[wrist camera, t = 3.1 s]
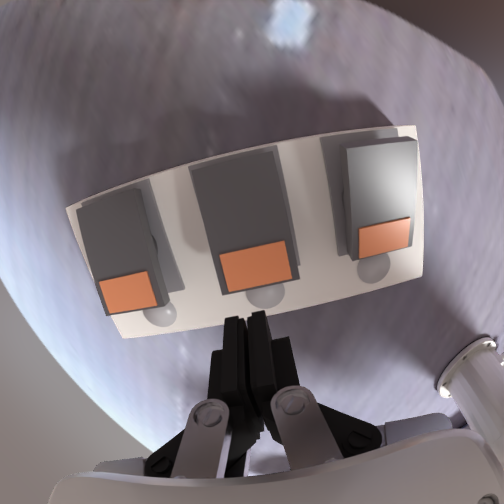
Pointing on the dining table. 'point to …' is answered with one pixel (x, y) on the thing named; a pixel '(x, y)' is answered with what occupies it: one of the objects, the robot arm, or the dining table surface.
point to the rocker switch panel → (302, 230)
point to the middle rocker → (246, 223)
